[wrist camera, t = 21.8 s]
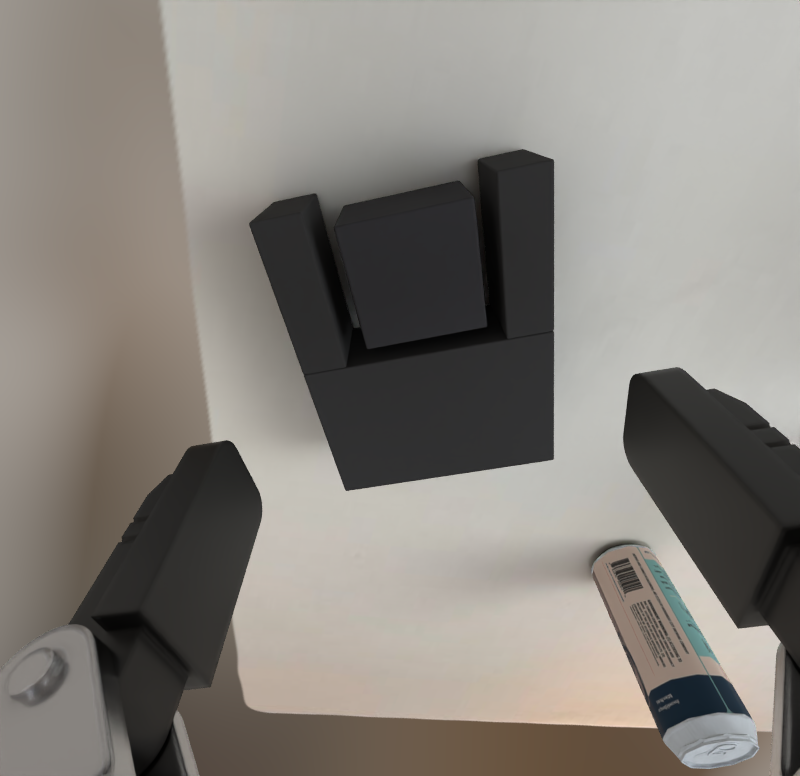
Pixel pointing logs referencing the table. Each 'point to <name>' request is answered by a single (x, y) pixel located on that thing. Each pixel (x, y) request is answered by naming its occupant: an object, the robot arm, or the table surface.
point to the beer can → (673, 662)
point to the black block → (413, 264)
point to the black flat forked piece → (429, 343)
